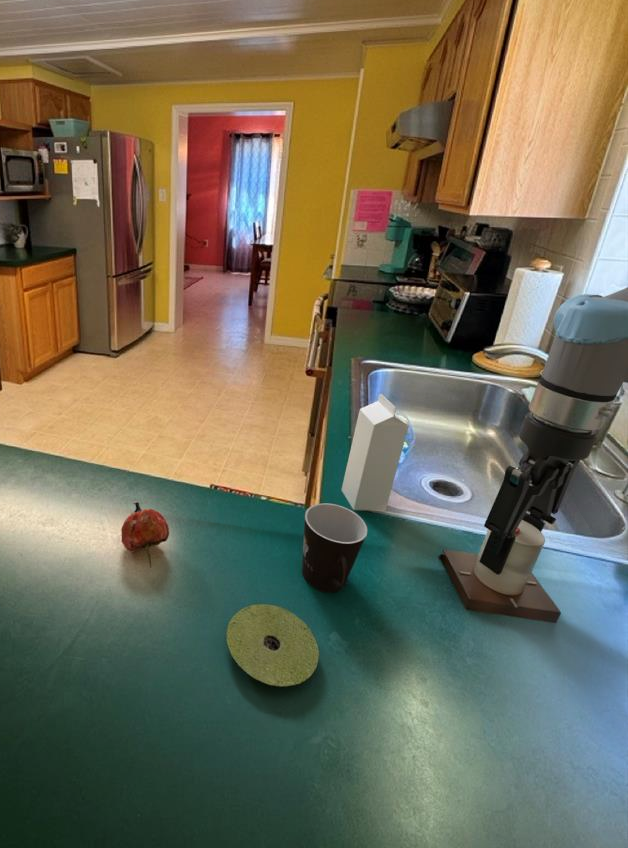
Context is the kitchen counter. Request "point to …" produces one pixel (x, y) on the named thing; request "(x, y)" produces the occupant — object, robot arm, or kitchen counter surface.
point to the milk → (374, 456)
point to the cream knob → (513, 561)
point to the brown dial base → (485, 599)
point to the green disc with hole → (272, 645)
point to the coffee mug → (331, 545)
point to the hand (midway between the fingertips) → (504, 560)
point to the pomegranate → (144, 530)
